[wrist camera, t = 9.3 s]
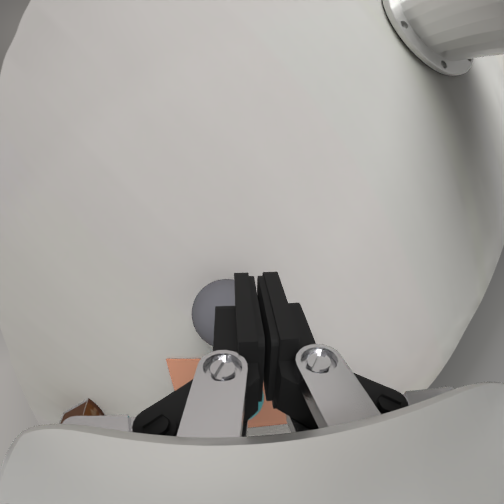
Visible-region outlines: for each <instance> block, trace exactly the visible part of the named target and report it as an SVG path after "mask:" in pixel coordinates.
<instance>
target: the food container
mask: <svg viewBox="0 0 504 504" xmlns="http://www.w3.org/2000/svg"><path fill="white" fill-rule="evenodd" d="M72 416H104V414H103V412H102V410H101V409H100V408H99V407H98V406H97V405H96V404H95V403H94V402H93V401H92V400H90V399H89V398H88V399H86V400H85V401H83V402H81V403H79V404H78V405H76V406H74V407H73V408H71V409H69V410H67V411H66V412H64V413H63V415H62V418H61V420H60V422H59V424H62V423H63V421H64V420H66V419H67V418H69V417H72Z"/></svg>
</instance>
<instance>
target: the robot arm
mask: <svg viewBox="0 0 504 504" xmlns="http://www.w3.org/2000/svg"><path fill="white" fill-rule="evenodd" d="M383 5H384V8H385V11H386V14H387V16H388V18H389V20H390V22H391V24H392V26H393V27H394V29H395V30H396V32H397V33H398V35H399V36H400V38H401V39H402V40H403V41H404V43H405V44H406V45H407V47H408V48H409V49H410V50H411V51H412V52H413V53H414V54H415V55H416V56H417V57H418V58H419V59H420V60H422V61H423V62H424V63H425V64H426V65H428V66H429V67H431V68H432V69H434V70H436V71H437V72H439V73H442V74H445V75H448V76H456V75H462V74H464V73H466V72H468V70H469V69H470V68H471V66H472V63H473V58H477V57H484V56H492V55H502V54H504V0H383ZM234 285H235V306H215V320H214V340H213V352H210V353H208V354H206V355H205V356H203V357H202V358H201V359H200V361H199V363H198V365H197V369H196V372H195V375H194V378H193V379H192V380H191V381H189V382H188V383H186V384H185V385H183V386H182V387H180V388H179V389H177V390H176V391H174V392H173V393H171V394H169V395H168V396H166V397H165V398H163V399H162V400H160V401H158V402H157V403H155V404H154V405H152V406H150V407H149V408H147V409H145V410H144V411H142V412H141V413H140V414H139V415H137V417H129V416H128V415H108V416H72V417H69V418H67V419H66V420H64V421H63V423H62V424H47V425H39V426H34V427H31V428H28V429H26V430H24V431H22V432H21V433H20V434H19V435H18V436H17V437H16V438H15V440H14V441H13V443H12V444H11V446H10V448H9V450H8V452H7V454H6V456H5V458H4V460H3V463H2V465H1V468H0V504H504V383H501V382H481V383H475V384H470V385H466V386H463V387H459V388H454V387H442V388H434V389H425V390H416V391H406V392H405V393H404V395H402V394H401V393H399V392H398V391H396V390H394V389H391V388H389V387H386V386H384V385H381V384H379V383H376V382H374V381H371V380H369V379H367V378H364V377H362V376H360V375H357V374H355V373H353V372H352V371H351V369H350V368H349V366H348V365H347V363H346V362H345V360H344V359H343V357H342V356H341V355H340V353H339V352H338V351H337V350H335V349H334V348H332V347H330V346H327V345H323V344H316V343H315V341H314V338H313V335H312V333H311V330H310V328H309V325H308V323H307V320H306V318H305V315H304V313H303V310H302V308H301V305H300V304H299V303H288V302H287V299H286V296H285V293H284V290H283V287H282V284H281V281H280V278H279V275H278V273H277V272H263V276H258V280H257V292H256V286H255V280H254V276H249V275H248V273H234ZM263 382H264V389H265V396H266V401H272V405H273V409H278V410H279V411H281V412H283V413H285V414H286V421H287V424H288V426H289V428H290V431H291V433H285V434H276V435H265V436H251V437H247V429H248V419H250V418H251V417H252V416H253V415H254V414H255V413H256V412H257V411H258V403H259V402H262V394H263Z"/></svg>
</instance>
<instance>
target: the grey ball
mask: <svg viewBox="0 0 504 504" xmlns="http://www.w3.org/2000/svg"><path fill="white" fill-rule="evenodd" d="M215 306H235V285H234V280H231V279H223V280H217V281H214V282H212V283H210V284H208V285H207V286H205V287H204V288H203V289H202V290H201V291H200V292H199V294H198V295H197V296H196V298H195V301H194V303H193V307H192V320H193V324H194V327H195V329H196V331H197V333H198V334H199V335H200V337H201V338H202V339H203V340H204V341H206V342H207V343H208V344H210V345H212V346H213V340H214V320H215Z"/></svg>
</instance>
